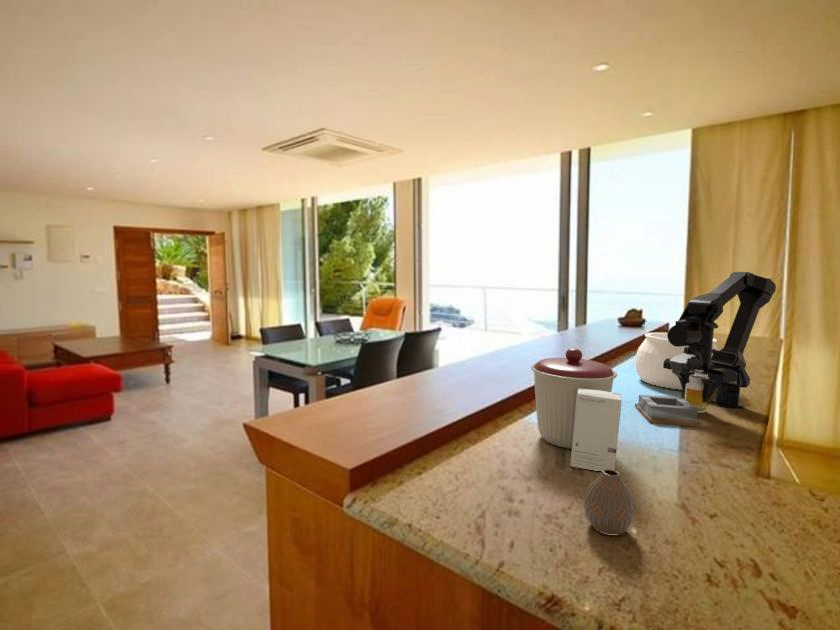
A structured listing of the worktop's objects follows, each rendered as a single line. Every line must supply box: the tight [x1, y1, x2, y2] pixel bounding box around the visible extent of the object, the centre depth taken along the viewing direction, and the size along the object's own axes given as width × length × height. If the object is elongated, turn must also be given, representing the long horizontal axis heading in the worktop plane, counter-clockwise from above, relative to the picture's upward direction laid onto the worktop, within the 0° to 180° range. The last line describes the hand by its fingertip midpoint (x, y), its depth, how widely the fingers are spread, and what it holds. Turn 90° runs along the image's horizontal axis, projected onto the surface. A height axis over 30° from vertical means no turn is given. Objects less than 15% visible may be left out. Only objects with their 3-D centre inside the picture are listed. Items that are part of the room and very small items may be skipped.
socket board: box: [634, 394, 702, 428], centre depth 125 cm, size 14×12×4 cm
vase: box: [583, 469, 635, 535], centre depth 69 cm, size 7×7×9 cm
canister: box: [530, 348, 618, 450], centre depth 104 cm, size 18×18×21 cm
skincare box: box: [569, 388, 622, 471], centre depth 91 cm, size 8×6×15 cm
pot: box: [634, 332, 720, 391], centre depth 161 cm, size 29×26×16 cm
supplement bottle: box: [683, 375, 708, 414], centre depth 130 cm, size 5×5×10 cm
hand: (695, 399), depth 131 cm, fingers closed on supplement bottle, 5 cm apart
